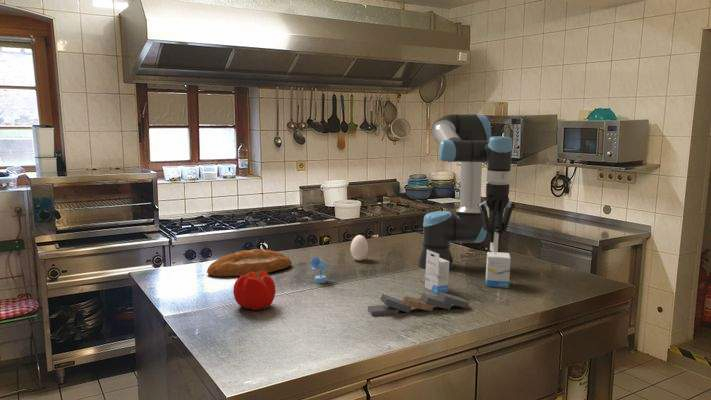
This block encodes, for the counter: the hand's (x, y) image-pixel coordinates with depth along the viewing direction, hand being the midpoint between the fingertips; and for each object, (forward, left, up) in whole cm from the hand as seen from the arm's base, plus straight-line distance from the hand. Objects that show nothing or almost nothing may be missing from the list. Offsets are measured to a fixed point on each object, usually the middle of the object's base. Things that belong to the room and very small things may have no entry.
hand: (493, 251), depth 179 cm
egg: (-61, -31, -18) cm, 71 cm away
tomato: (-11, -80, -18) cm, 83 cm away
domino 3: (+3, -18, -17) cm, 24 cm away
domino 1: (+3, -36, -17) cm, 40 cm away
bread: (-54, -79, -18) cm, 97 cm away
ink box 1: (-15, -14, -18) cm, 27 cm away
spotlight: (-34, -54, -18) cm, 66 cm away
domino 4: (+3, -12, -17) cm, 21 cm away
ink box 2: (-17, +12, -18) cm, 27 cm away
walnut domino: (+3, -24, -17) cm, 29 cm away
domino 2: (+3, -32, -17) cm, 36 cm away
